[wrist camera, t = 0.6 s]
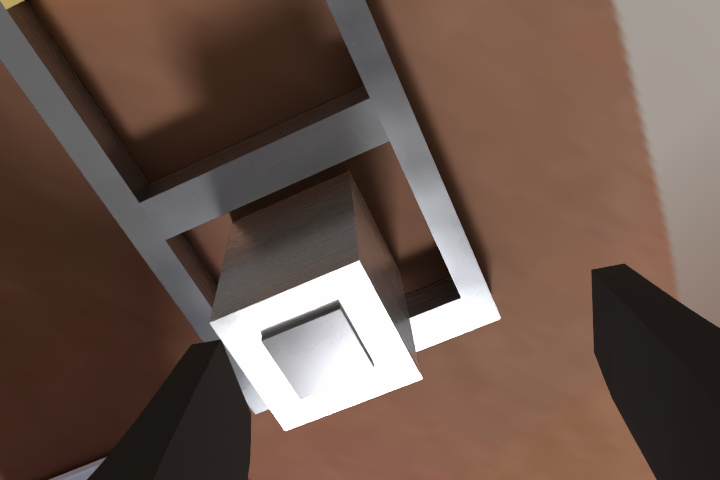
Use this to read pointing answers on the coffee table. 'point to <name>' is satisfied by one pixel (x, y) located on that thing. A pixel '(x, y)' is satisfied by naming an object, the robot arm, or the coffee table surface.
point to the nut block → (314, 304)
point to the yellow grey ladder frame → (253, 173)
